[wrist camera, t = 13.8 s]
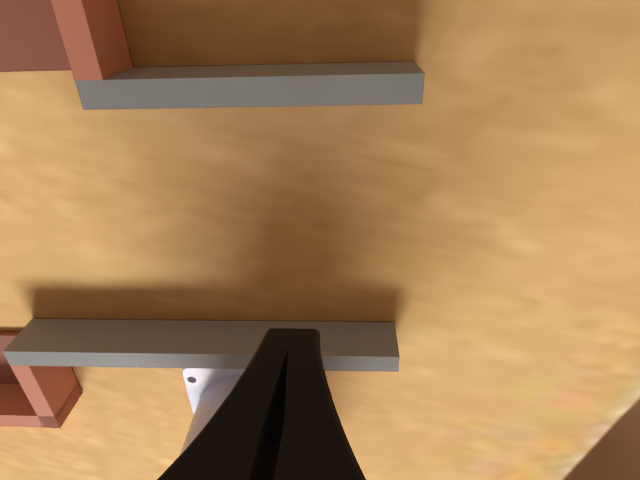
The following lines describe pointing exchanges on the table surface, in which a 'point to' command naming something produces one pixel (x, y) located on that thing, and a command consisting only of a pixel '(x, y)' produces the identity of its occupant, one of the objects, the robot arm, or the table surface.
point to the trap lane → (150, 93)
